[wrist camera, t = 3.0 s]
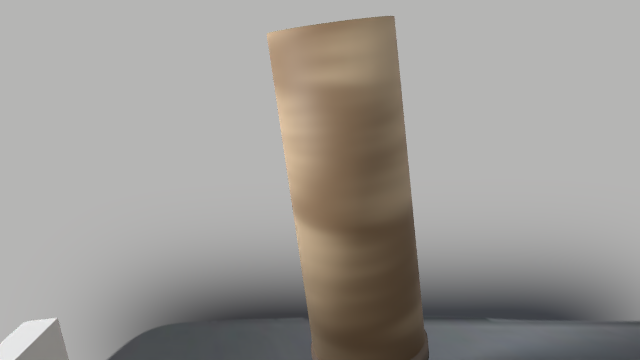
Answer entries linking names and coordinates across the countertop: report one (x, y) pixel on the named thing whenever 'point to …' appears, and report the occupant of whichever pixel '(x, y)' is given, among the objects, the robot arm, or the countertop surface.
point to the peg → (350, 187)
